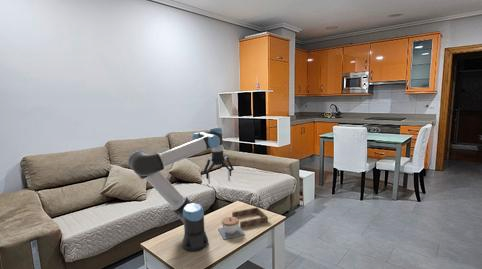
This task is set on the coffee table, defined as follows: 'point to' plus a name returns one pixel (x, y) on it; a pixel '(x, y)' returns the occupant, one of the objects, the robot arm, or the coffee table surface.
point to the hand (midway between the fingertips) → (219, 182)
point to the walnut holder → (251, 222)
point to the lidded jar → (230, 224)
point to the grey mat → (228, 236)
